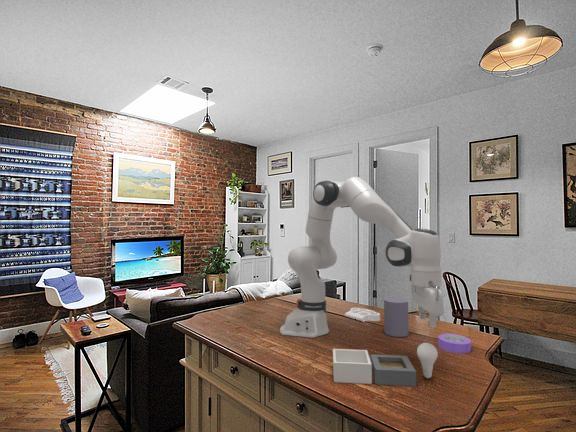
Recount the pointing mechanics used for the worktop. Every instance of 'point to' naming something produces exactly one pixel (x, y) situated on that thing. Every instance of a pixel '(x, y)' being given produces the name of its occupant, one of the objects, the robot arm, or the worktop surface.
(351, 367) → the bin
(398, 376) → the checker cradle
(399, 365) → the contact pad
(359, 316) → the white brass knuckles
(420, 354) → the lightbulb
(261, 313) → the worktop surface
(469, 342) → the masking tape
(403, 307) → the container
